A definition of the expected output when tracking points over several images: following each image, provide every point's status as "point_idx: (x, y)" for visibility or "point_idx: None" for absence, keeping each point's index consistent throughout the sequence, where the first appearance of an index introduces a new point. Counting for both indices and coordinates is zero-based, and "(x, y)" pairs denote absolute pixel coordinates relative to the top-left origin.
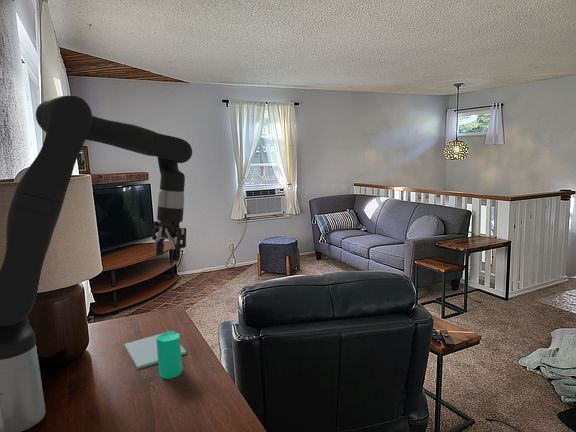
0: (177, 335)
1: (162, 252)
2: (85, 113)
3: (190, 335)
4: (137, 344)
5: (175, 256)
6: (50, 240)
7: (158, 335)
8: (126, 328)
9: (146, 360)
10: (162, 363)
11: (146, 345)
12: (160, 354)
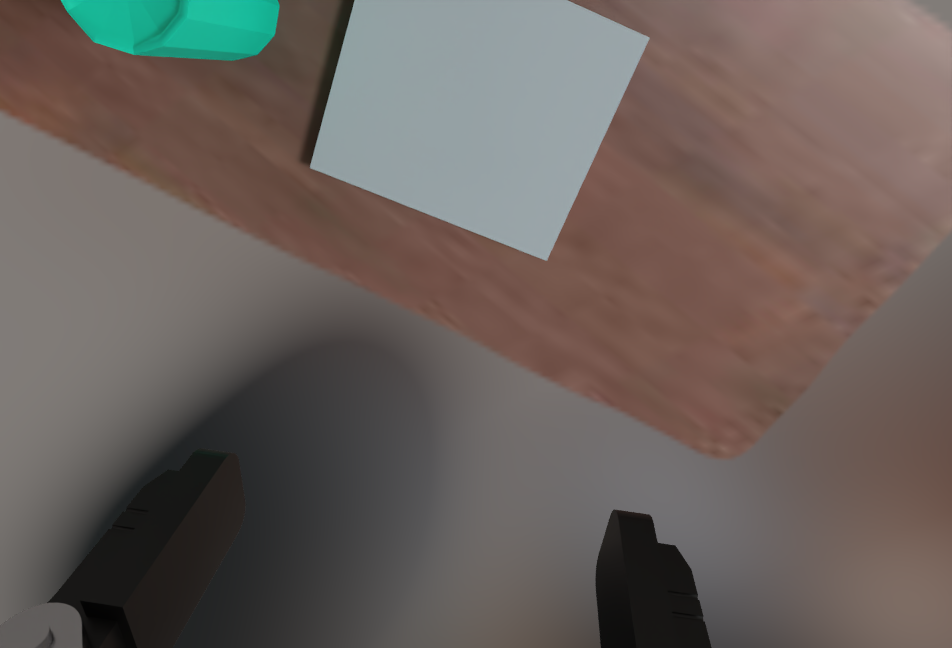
0: (106, 32)
1: (598, 591)
2: None
3: (442, 296)
4: (579, 76)
5: (137, 511)
6: None
7: (560, 203)
8: (807, 179)
9: None
10: None
11: (526, 95)
12: None
